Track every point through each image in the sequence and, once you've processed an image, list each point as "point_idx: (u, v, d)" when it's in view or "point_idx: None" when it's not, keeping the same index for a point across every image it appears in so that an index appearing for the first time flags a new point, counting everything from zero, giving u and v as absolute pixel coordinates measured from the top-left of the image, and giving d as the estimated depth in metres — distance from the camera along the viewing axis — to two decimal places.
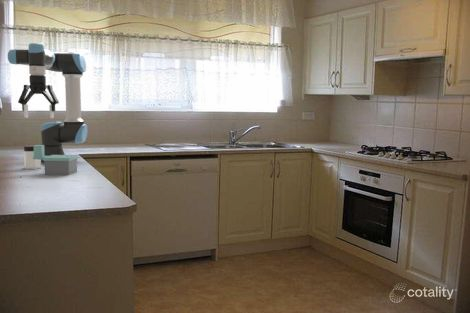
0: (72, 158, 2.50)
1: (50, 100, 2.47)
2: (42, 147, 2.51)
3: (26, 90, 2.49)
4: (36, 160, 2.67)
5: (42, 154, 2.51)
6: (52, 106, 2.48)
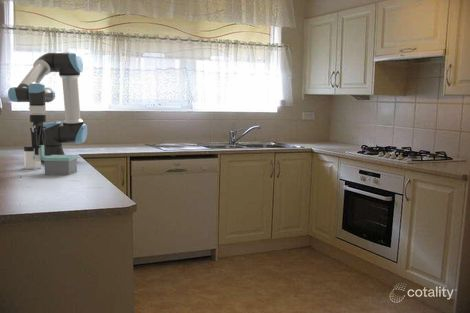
0: (72, 158, 2.50)
1: None
2: (42, 147, 2.51)
3: None
4: None
5: (42, 154, 2.51)
6: None
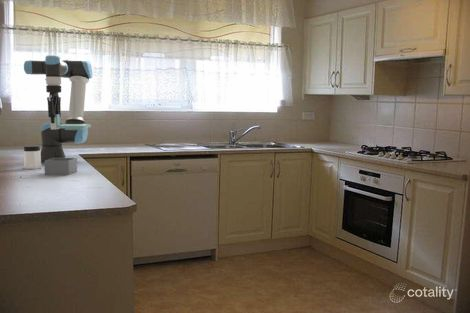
0: (86, 126, 2.65)
1: None
2: (58, 116, 2.66)
3: None
4: (36, 160, 2.67)
5: (58, 123, 2.66)
6: None
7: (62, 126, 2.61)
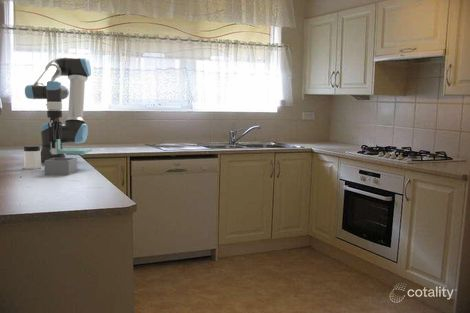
0: (87, 151, 2.66)
1: None
2: (58, 141, 2.67)
3: None
4: (36, 160, 2.67)
5: (58, 147, 2.68)
6: None
7: (63, 151, 2.62)
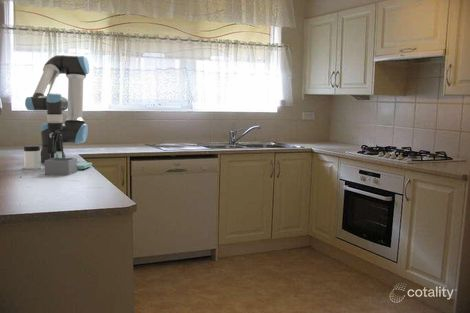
0: (87, 166, 2.68)
1: None
2: (59, 155, 2.69)
3: None
4: (36, 160, 2.67)
5: None
6: None
7: None
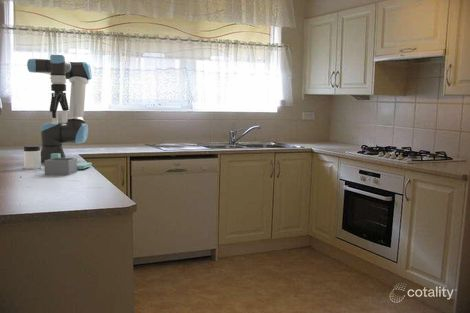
0: (87, 166, 2.68)
1: None
2: (59, 155, 2.69)
3: None
4: (36, 160, 2.67)
5: None
6: None
7: None
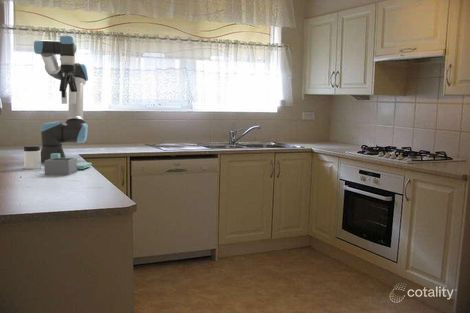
0: (86, 166, 2.68)
1: (61, 87, 2.66)
2: (58, 155, 2.69)
3: None
4: (36, 160, 2.67)
5: None
6: None
7: None
